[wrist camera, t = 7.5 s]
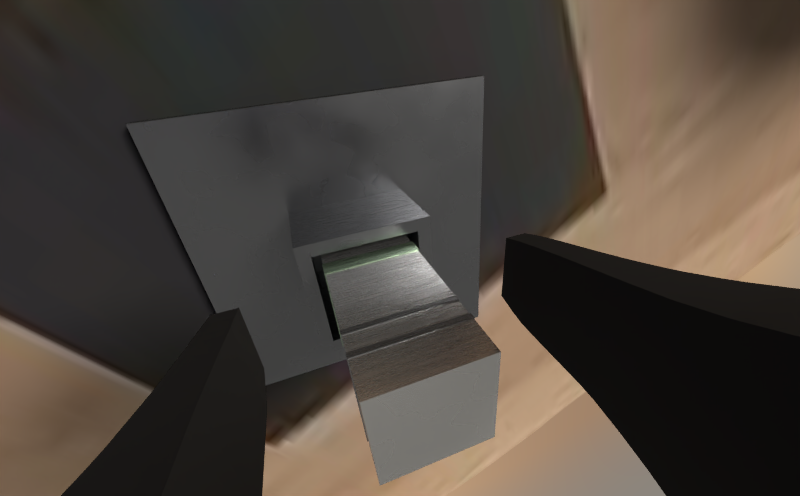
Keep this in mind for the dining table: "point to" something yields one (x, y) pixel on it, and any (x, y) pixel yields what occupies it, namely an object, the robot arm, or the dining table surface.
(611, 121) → the dining table surface
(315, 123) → the stand
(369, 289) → the column
